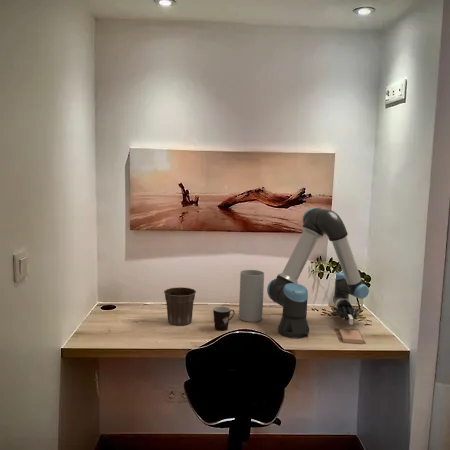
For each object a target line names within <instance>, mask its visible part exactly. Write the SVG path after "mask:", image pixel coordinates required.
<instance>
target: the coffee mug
mask: <svg viewBox="0 0 450 450" xmlns="http://www.w3.org/2000/svg"><path fill="white" fill-rule="evenodd" d="M212 309H213V310H212V311H213V321H214V322H213V324H214V330H215V331H217V332H219V331H220V332H224V331H225V332H226V331H228V329H229V322H230V321H231V320H232V319H233V318H234V316H235V313H236V312H235V310H234V309H231V308H230V307H227V306H216V307H214V308H212ZM232 311H233V312H232ZM231 312H232V316H231Z"/></svg>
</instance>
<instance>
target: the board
mask: <svg viewBox="0 0 450 450" xmlns="http://www.w3.org/2000/svg"><path fill="white" fill-rule="evenodd" d="M333 329H334V331H335V333H336V336H337V337H336V338H337V339H338V342H339V343H344V342H343V341H342V339H341V336H340V334H339V329H342V330H356V331H359V333H360V335H361V337H362V339H363V344H364V345H367V343H366V340H365V338H364V336H363V335H362V333H361V331H360V329H358V328H344V327H333ZM359 344H361V343H359ZM361 345H362V344H361Z"/></svg>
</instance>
